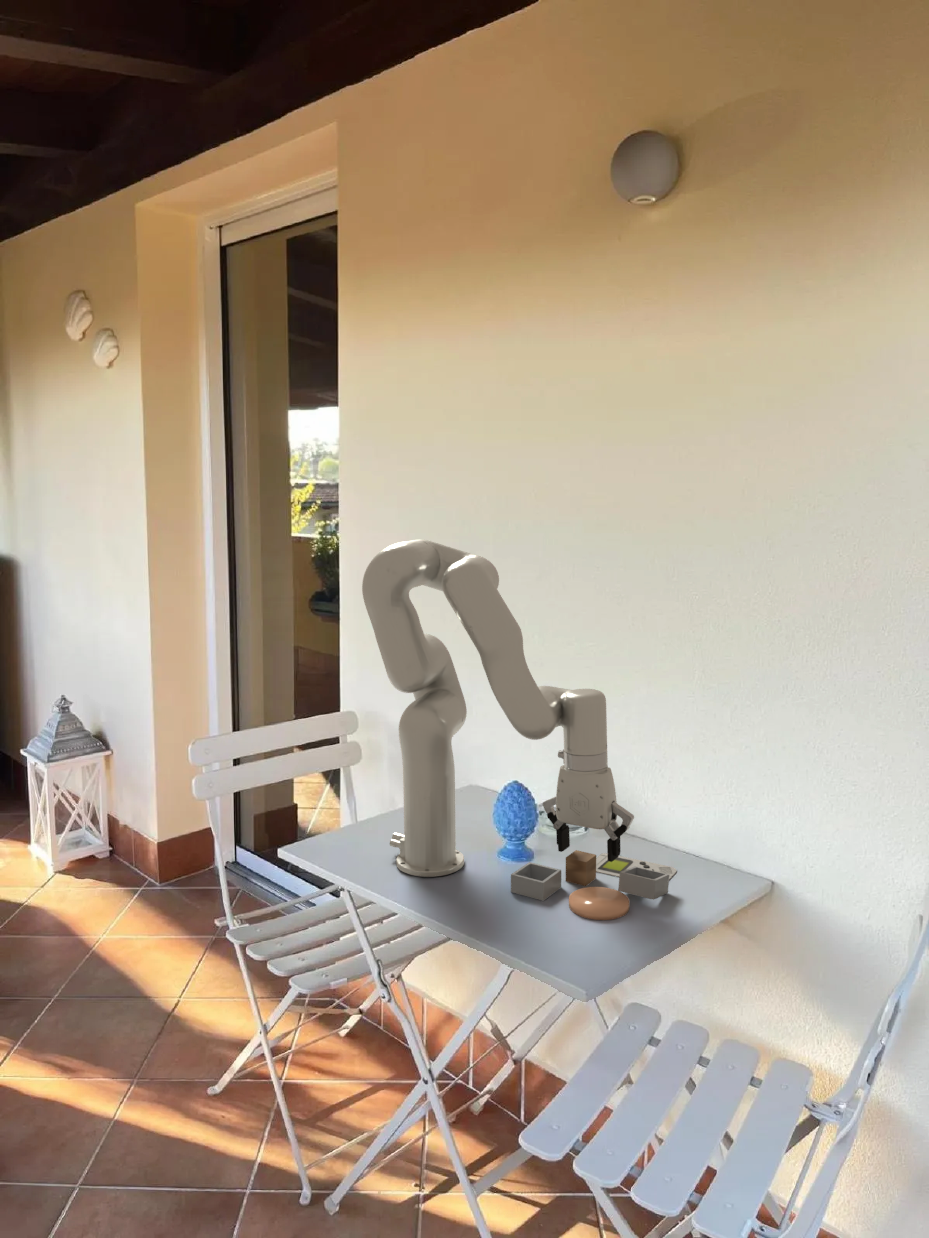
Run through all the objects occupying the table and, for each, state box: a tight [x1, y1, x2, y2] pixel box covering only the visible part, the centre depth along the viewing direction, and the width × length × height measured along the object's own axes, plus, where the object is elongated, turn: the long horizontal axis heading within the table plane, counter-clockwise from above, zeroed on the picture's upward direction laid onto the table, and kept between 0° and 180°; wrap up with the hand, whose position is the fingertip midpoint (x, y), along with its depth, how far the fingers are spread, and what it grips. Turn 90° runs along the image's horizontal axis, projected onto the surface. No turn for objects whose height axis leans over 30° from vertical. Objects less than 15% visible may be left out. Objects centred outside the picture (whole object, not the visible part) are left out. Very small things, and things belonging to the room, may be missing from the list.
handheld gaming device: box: [596, 852, 677, 881], centre depth 172 cm, size 9×1×15 cm
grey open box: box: [510, 861, 562, 901], centre depth 163 cm, size 6×6×3 cm
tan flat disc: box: [568, 886, 630, 921], centre depth 157 cm, size 10×10×1 cm
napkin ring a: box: [617, 866, 670, 901], centre depth 161 cm, size 6×6×3 cm
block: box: [565, 849, 597, 887], centre depth 167 cm, size 4×4×4 cm
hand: (588, 853), depth 166 cm, fingers open, 9 cm apart
